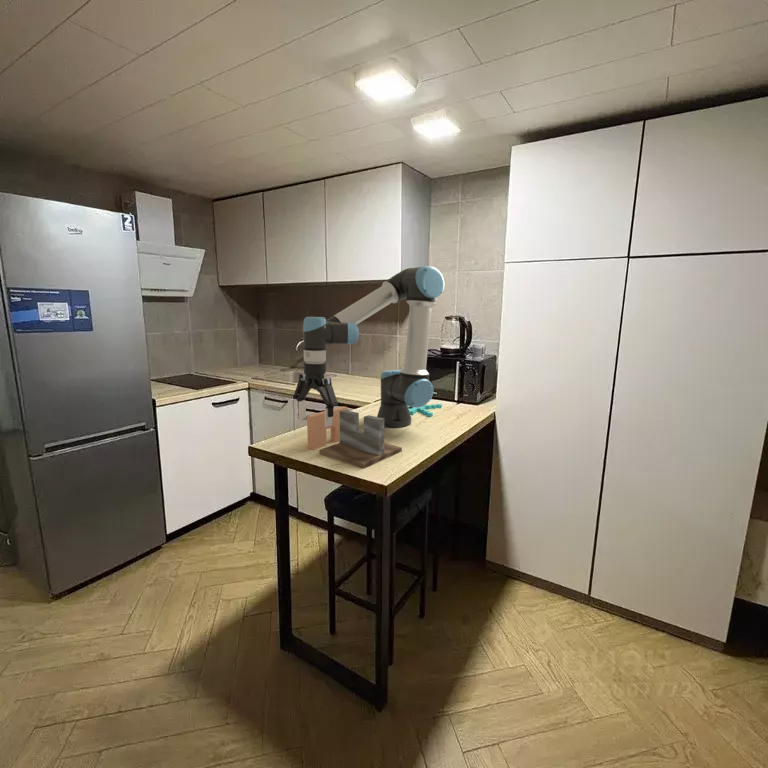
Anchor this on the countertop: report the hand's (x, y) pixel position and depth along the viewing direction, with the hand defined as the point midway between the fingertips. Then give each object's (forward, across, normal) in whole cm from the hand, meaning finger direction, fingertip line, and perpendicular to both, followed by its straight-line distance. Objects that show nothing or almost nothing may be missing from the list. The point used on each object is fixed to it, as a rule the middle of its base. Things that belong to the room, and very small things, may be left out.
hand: (315, 422), depth 147 cm
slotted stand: (+9, +16, +6) cm, 20 cm away
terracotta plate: (+9, 0, +6) cm, 11 cm away
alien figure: (+9, -3, +68) cm, 69 cm away
